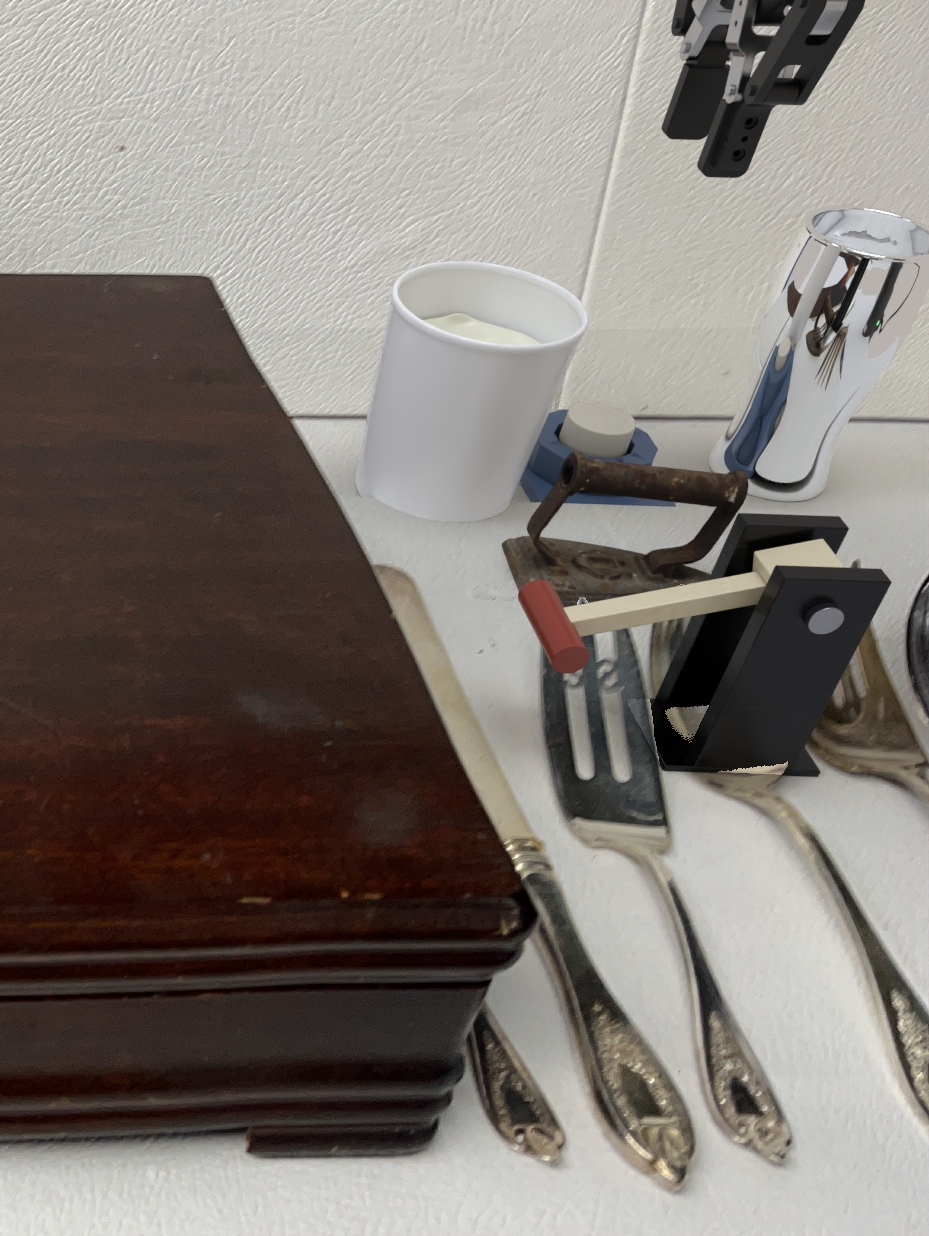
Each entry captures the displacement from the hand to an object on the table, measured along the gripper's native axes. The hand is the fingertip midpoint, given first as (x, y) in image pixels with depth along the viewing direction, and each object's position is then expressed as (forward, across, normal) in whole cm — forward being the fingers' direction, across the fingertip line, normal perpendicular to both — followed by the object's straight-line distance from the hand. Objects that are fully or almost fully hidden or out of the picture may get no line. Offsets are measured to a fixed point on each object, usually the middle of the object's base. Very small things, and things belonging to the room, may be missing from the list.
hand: (701, 153), depth 90 cm
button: (+17, 0, 0) cm, 17 cm away
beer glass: (+19, +1, -11) cm, 22 cm away
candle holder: (+19, -2, +9) cm, 22 cm away
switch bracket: (+19, -24, +2) cm, 31 cm away
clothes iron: (+19, -12, +2) cm, 23 cm away
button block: (+19, 0, 0) cm, 19 cm away
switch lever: (+12, -24, +6) cm, 28 cm away
